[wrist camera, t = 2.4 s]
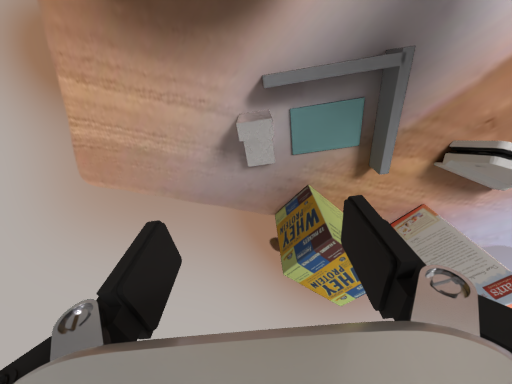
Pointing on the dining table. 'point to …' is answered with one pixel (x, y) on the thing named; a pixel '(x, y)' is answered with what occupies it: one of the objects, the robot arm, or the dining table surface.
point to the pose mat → (326, 126)
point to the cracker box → (455, 253)
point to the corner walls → (389, 98)
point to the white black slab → (481, 162)
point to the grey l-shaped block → (257, 136)
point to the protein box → (316, 247)
